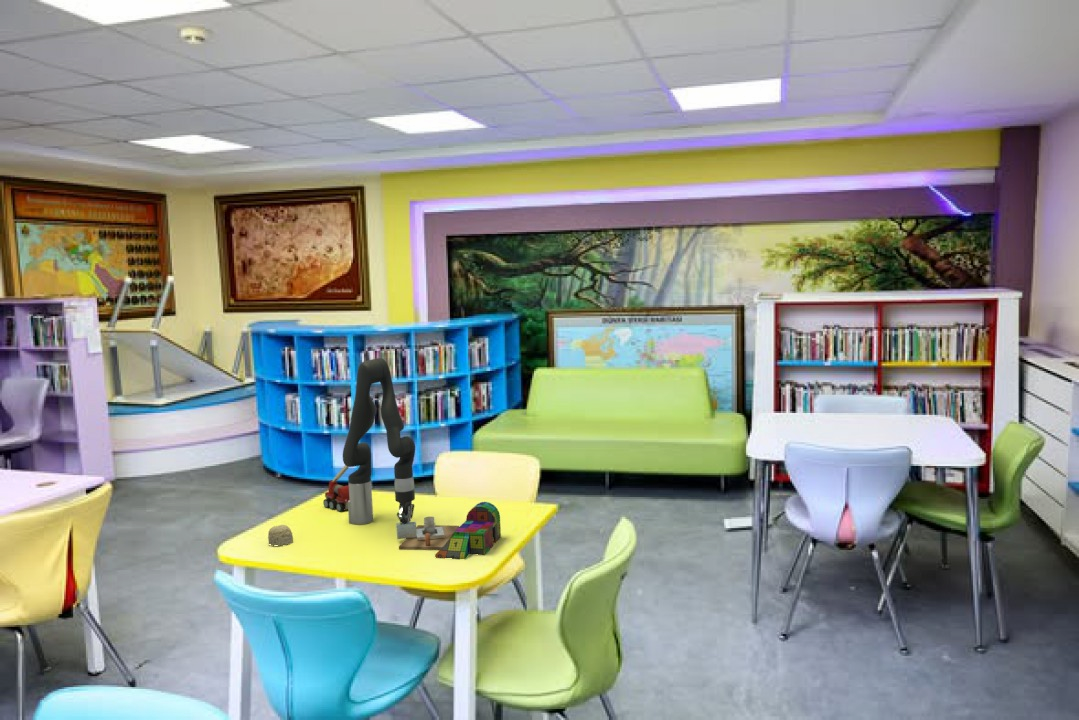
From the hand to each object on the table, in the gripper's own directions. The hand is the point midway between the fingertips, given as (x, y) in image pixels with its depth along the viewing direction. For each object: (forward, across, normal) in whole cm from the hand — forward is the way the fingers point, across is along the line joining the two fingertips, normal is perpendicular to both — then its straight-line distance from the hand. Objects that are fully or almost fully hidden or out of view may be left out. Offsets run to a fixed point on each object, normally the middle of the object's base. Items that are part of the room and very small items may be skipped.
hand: (407, 531), depth 306 cm
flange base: (+2, -1, -10) cm, 10 cm away
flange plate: (+1, -2, -6) cm, 7 cm away
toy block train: (+3, -8, -28) cm, 29 cm away
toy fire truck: (+3, +36, +45) cm, 58 cm away
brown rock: (+2, -12, +48) cm, 49 cm away
